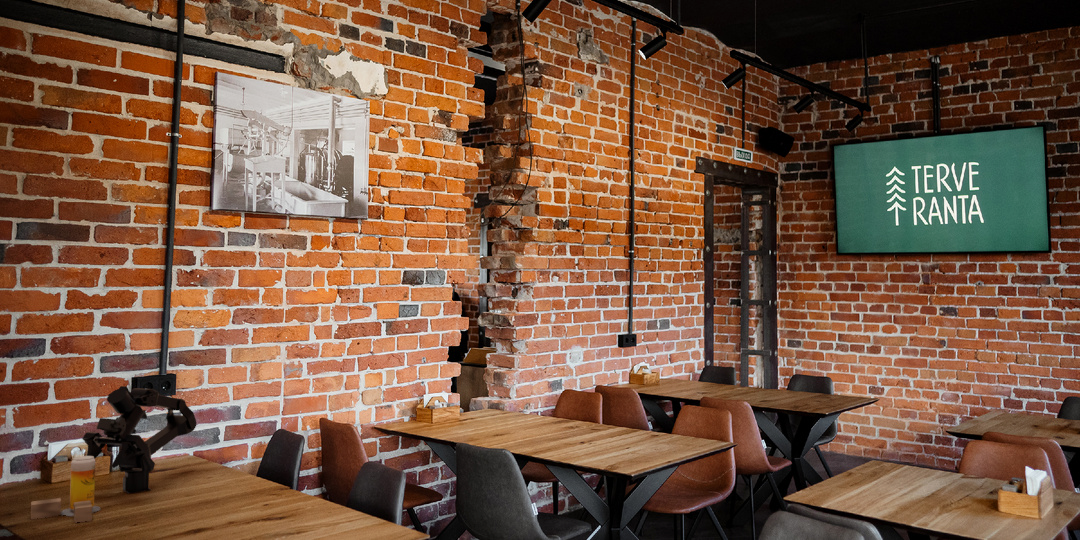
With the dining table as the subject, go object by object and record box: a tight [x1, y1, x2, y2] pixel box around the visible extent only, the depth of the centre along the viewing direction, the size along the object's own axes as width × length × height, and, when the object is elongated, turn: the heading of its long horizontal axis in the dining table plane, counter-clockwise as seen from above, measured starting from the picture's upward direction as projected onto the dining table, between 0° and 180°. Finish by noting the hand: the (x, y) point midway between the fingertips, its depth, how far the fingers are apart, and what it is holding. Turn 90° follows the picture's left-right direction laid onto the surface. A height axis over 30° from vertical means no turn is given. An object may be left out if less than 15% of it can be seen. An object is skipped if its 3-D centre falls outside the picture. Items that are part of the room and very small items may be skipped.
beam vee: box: [30, 497, 101, 524], centre depth 219 cm, size 15×20×4 cm
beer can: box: [69, 455, 96, 512], centre depth 222 cm, size 6×6×15 cm
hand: (99, 466), depth 229 cm, fingers open, 9 cm apart
